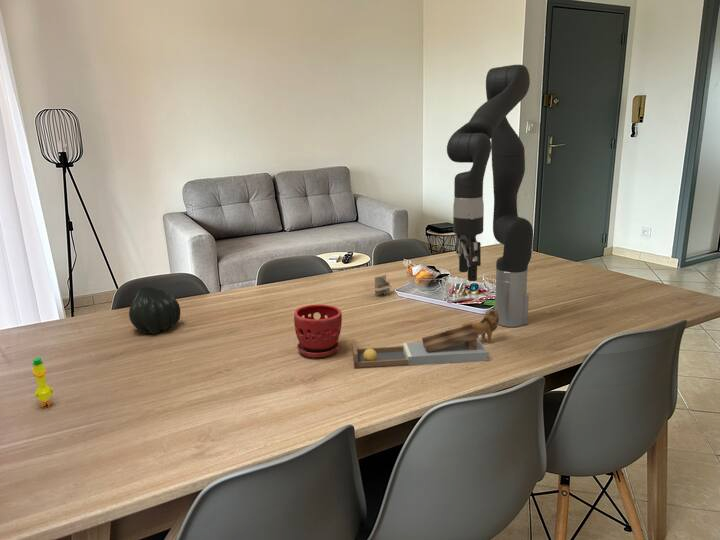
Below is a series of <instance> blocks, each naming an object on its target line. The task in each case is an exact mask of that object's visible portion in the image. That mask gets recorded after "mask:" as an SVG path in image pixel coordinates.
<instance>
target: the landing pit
mask: <svg viewBox="0 0 720 540" xmlns="http://www.w3.org/2000/svg"><path fill="white" fill-rule="evenodd" d="M351 346H352V349H351V351H352V352H351V353H352V354H351V355H352V360H353V367H354V368H353V369H355V370H357V369H369V368H387V367H388V368H389V367H405V366H409V365H408V359H406V357H405V355H404V352H403V345H400V346H399V345H398V346H396V345H395V346H384V347H383V346H381V347H380V346H379V347H364V348H358V347H357V341H356V340H351ZM367 349H373V350H375V351H376V353H377V358H376V360H375V361H365V359H364V357H363V354H364V352H365V350H367Z"/></svg>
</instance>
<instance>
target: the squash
mask: <svg viewBox="0 0 720 540" xmlns="http://www.w3.org/2000/svg"><path fill="white" fill-rule="evenodd" d="M128 316H129V320H130V323H131V324H132V326H134V327H135V329H137V330H138V331H140V332H141V333H143V334H150V333H151V334H158V333H160V332H161V330H167V329H168V328H171V327H173V326H175V325H176V324H178V323H179V320H180V318H181V307H180V304H179V302H178V300H176V298H175V296H174V295H172V294H171V293H170V292H168V291H166V290H163V289H161V288H156V287H152V286H141V287H140V288H139V289H138V291H137V293H136V295H135V298H134V299H133V301H132V303H131V305H130V308H129V310H128Z"/></svg>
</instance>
